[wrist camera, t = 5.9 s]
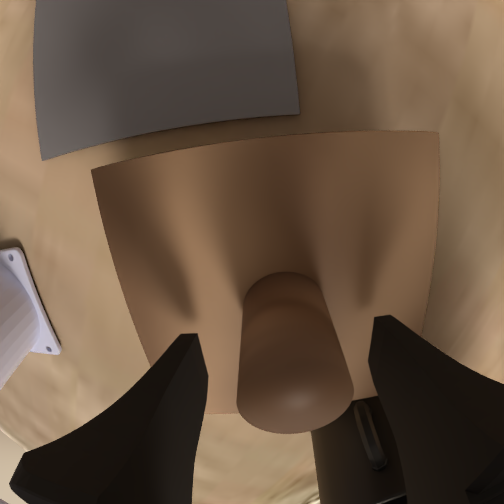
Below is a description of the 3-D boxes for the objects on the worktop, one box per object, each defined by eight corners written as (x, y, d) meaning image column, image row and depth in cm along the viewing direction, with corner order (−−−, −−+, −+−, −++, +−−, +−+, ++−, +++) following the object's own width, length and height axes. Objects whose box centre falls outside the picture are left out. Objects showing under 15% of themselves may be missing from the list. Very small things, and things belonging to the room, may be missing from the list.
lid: (174, 402, 15) (154, 486, 10) (101, 166, 10) (3, 203, 5) (402, 378, 14) (436, 457, 9) (427, 131, 9) (530, 148, 5)
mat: (46, 159, 13) (41, 160, 13) (44, -34, 8) (41, -36, 8) (298, 114, 13) (300, 114, 12) (266, -95, 8) (266, -99, 7)
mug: (413, 326, 17) (479, 440, 9) (428, 417, 21) (462, 498, 13) (275, 385, 19) (282, 513, 10) (330, 457, 23) (344, 543, 14)
